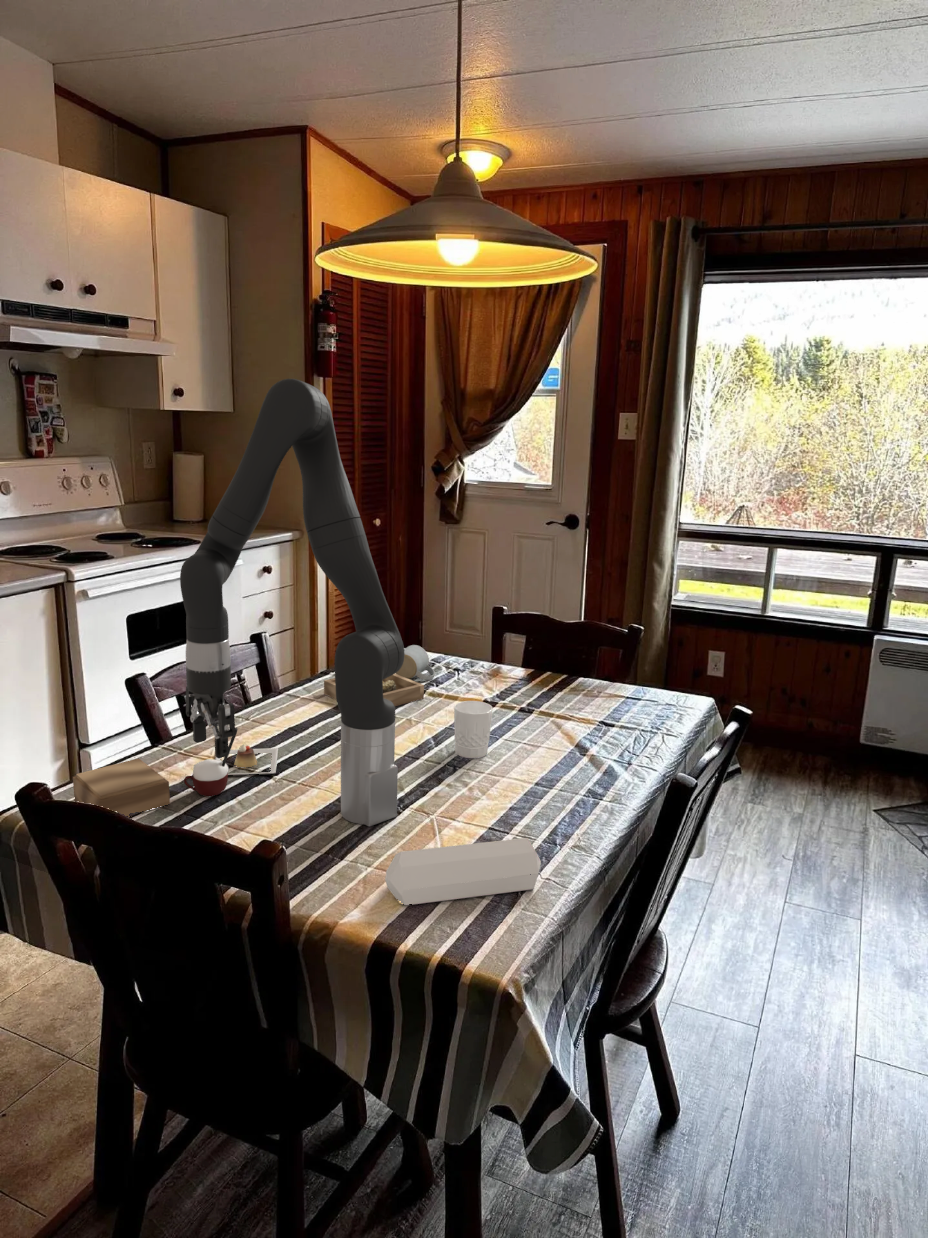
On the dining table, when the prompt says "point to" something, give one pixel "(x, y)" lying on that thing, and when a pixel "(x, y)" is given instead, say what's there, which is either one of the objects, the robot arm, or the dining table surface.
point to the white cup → (472, 728)
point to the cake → (389, 686)
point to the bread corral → (401, 695)
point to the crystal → (463, 871)
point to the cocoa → (210, 775)
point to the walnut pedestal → (123, 787)
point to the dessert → (252, 758)
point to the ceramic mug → (415, 663)
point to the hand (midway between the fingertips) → (210, 748)
